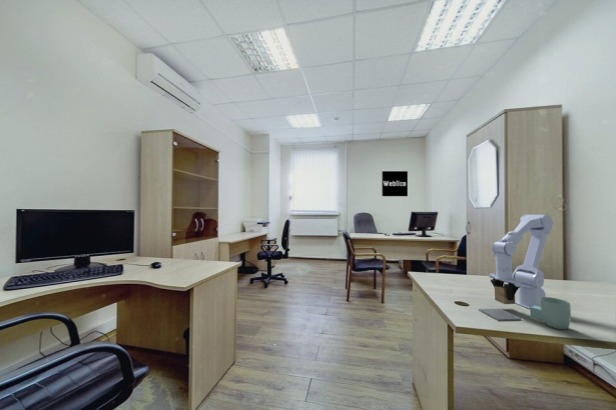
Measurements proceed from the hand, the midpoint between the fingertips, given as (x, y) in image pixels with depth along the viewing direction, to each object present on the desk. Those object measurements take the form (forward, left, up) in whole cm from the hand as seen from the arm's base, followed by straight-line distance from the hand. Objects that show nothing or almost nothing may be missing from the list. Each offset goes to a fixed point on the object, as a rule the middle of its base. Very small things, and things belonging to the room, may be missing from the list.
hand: (504, 297), depth 106 cm
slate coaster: (+9, +6, -5) cm, 12 cm away
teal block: (-6, +9, -5) cm, 12 cm away
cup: (-4, +17, -5) cm, 18 cm away
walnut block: (0, 0, -2) cm, 2 cm away
